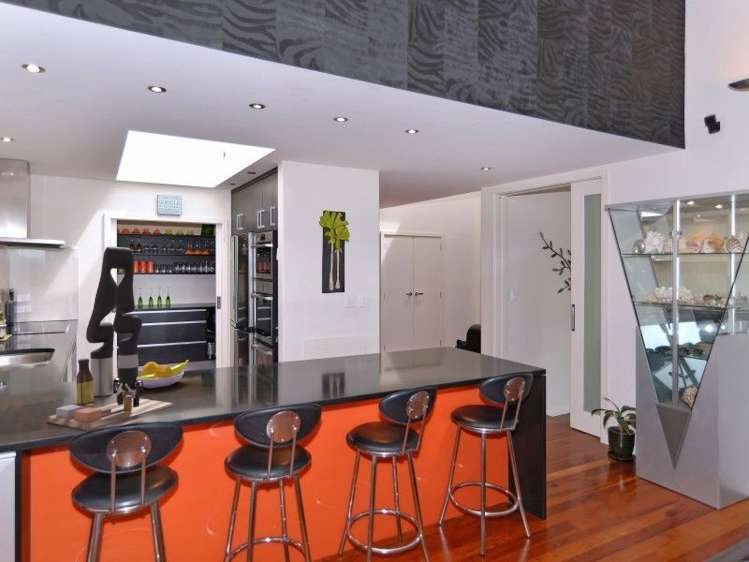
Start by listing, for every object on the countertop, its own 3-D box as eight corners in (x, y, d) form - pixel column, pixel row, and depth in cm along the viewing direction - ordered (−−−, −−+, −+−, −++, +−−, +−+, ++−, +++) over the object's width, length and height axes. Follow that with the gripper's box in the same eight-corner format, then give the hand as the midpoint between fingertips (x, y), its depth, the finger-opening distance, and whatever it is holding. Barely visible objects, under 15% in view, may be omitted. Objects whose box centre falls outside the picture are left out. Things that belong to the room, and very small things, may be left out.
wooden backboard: (47, 424, 195) (47, 416, 195) (135, 399, 232) (135, 393, 232) (87, 432, 186) (87, 424, 186) (172, 405, 223) (172, 398, 223)
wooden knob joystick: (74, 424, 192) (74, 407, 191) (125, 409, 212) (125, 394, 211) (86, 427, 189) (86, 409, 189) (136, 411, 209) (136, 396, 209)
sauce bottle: (96, 403, 225) (96, 357, 224) (89, 407, 219) (89, 360, 218) (81, 403, 225) (81, 357, 224) (73, 407, 218) (73, 360, 218)
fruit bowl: (123, 393, 244) (122, 368, 244) (133, 380, 270) (133, 358, 270) (186, 389, 251) (186, 366, 251) (190, 377, 278) (190, 356, 277)
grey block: (56, 421, 196) (56, 408, 195) (87, 412, 208) (87, 400, 207) (67, 423, 193) (67, 410, 193) (99, 414, 205) (98, 402, 205)
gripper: (148, 365, 209) (148, 405, 209) (123, 362, 215) (123, 401, 215) (133, 368, 202) (133, 410, 202) (107, 365, 208) (107, 406, 208)
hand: (128, 405), depth 209 cm, fingers open, 8 cm apart
